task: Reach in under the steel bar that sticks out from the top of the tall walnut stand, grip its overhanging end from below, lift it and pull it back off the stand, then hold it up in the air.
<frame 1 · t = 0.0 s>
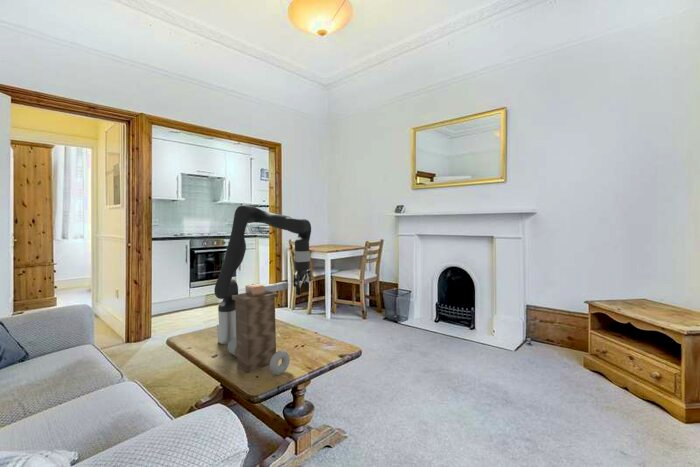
hand: (302, 292, 162), 29 cm above the table, tool pointing down, fingers open, 8 cm apart
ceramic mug: (240, 354, 161), on the table
donut: (280, 374, 140), on the table
tabletop clock: (253, 323, 208), on the table
walnut stand: (256, 364, 150), on the table
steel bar: (255, 294, 148), point 32 cm above the table, touching walnut stand
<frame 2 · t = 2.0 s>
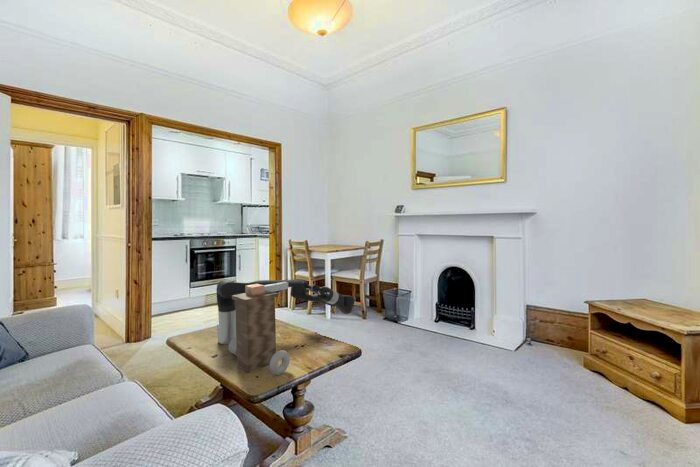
hand: (307, 285, 169), 31 cm above the table, tool pointing upward, fingers open, 8 cm apart
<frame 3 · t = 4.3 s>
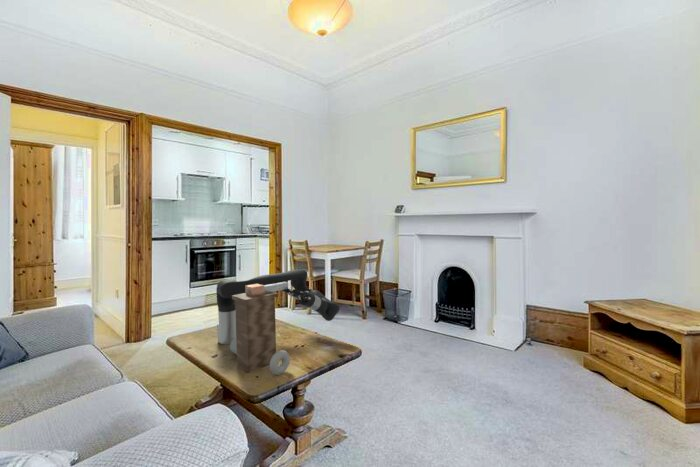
hand: (287, 289, 160), 31 cm above the table, tool pointing upward, fingers open, 8 cm apart
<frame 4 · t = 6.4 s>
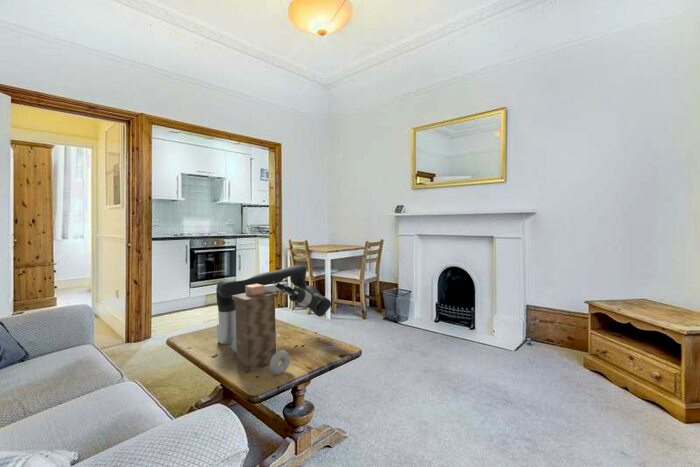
hand: (275, 284, 156), 35 cm above the table, tool pointing upward, fingers closed on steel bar, 3 cm apart
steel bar: (255, 294, 148), point 32 cm above the table, touching gripper, walnut stand
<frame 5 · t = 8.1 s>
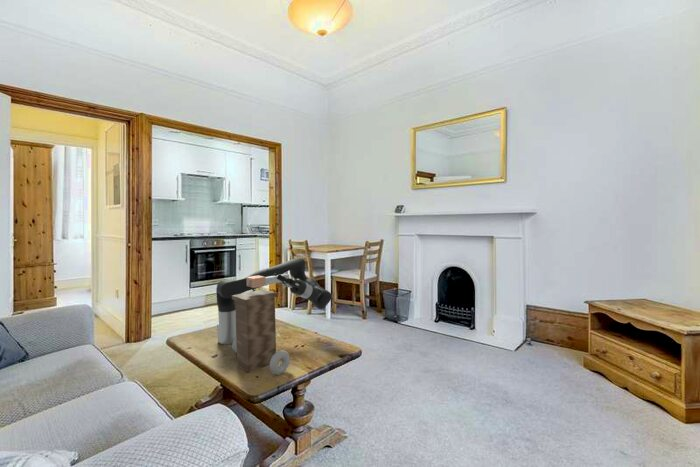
hand: (276, 276, 156), 39 cm above the table, tool pointing upward, fingers closed on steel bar, 3 cm apart
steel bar: (256, 285, 148), point 36 cm above the table, touching gripper
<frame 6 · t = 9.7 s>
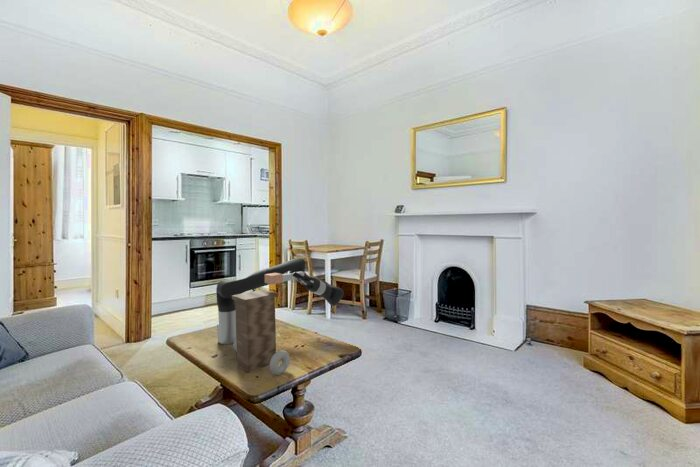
hand: (291, 273, 162), 39 cm above the table, tool pointing upward, fingers closed on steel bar, 3 cm apart
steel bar: (273, 282, 155), point 36 cm above the table, touching gripper
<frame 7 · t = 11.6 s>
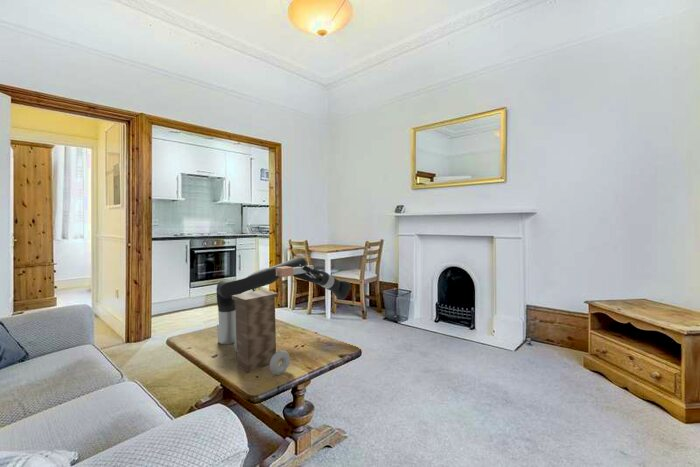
hand: (301, 266, 167), 41 cm above the table, tool pointing upward, fingers closed on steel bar, 3 cm apart
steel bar: (284, 275, 159), point 38 cm above the table, touching gripper
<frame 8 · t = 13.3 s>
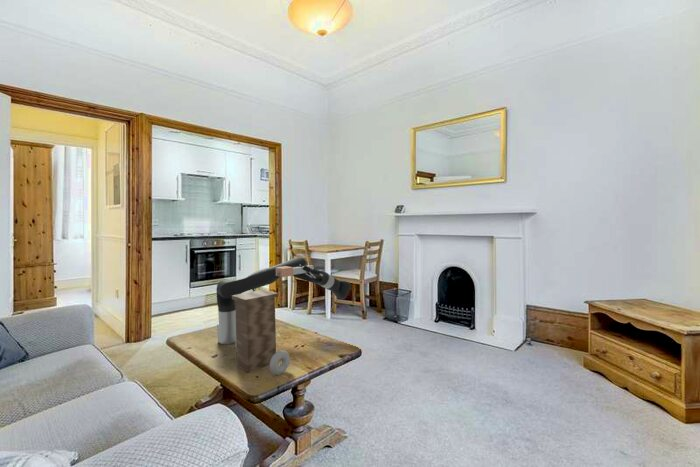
hand: (301, 266, 167), 41 cm above the table, tool pointing upward, fingers closed on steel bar, 3 cm apart
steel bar: (284, 275, 159), point 38 cm above the table, touching gripper
at the end: the gripper is holding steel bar; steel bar moved 17.2 cm from its start; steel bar touching gripper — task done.
